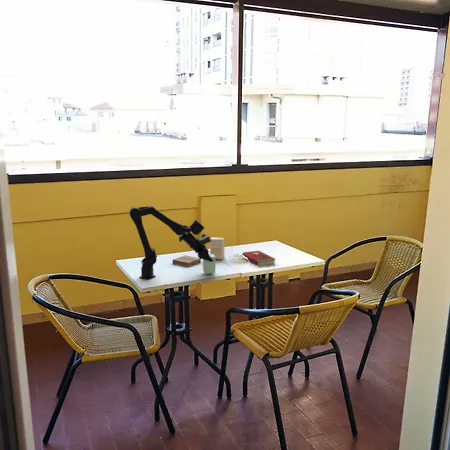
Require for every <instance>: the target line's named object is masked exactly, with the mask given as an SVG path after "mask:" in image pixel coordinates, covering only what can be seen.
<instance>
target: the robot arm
mask: <svg viewBox="0 0 450 450" xmlns="http://www.w3.org/2000/svg"><path fill="white" fill-rule="evenodd" d="M128 214H129V217H130V219H131V220H132V222H133V224H134V225H135V227H136V230H137V233H138V236H139V239H140V242H141V244H142V248H143V252H144V258H142V260H141V269H140V271H141V275H140V276H139V277H138V278H139V279H144V280H148V281H149V280H151V279H153V278H156V276H157V275H154V265H155V264H156V263H157V261H158V260H157V258H158V255H157V253H156V249H155V247H153V248H152V247H151V245H150V242H149V239H148V236H147V234H146V233H147V232H146V230H145V227H144V225H143V218H142V217H144V216H145V217H146V216H149V215H150V216H151V215H152V216H153V217H155V218H156V219H157V220H158V221H161V223H162V224H165V225H166V226H168V227H169V228H170V230H171V231H173V233H175V234H176V236H178V242H179V243H181V242H182V241H183V242H184V243H186V244H187V245H188V246H189V248H191V249H192V250H193V251H194V253H195V254H197V258H200V259H201V260H203V259H204V260H207V261H210V262H213V260H212V258H211V257H210V255H209V254H210V251H209V249H208V248H207V246H206V244H208V243H210V242H211V240H210V239H211V238H210V235H209V234H205V233H202V234H201V232H203V230H204V229H205V227H204V225H203V224H202V223H201V222H199V221H198V220H197V219H194V220H193V221H192V223H191V224H190V225H184V224H183V223H181V222H178V221H176V220H174V219H172V218H170V217H168V216H167V215H165V214H164V213H163V212H161V211H160V210H158V209H157V208H156V207H154V205H148V206H140V207H139V206H132V207H130V209H129V211H128ZM200 234H201V237H200V238H198V237H196V236H198V235H200Z"/></svg>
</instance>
